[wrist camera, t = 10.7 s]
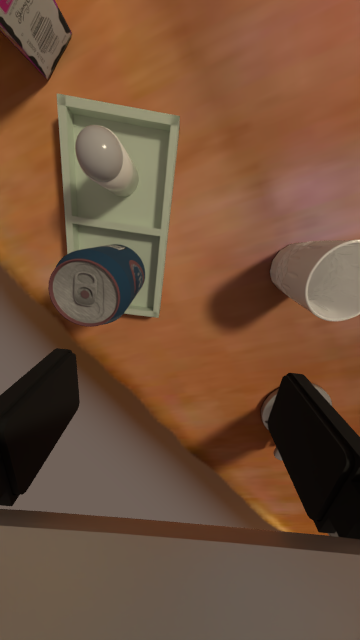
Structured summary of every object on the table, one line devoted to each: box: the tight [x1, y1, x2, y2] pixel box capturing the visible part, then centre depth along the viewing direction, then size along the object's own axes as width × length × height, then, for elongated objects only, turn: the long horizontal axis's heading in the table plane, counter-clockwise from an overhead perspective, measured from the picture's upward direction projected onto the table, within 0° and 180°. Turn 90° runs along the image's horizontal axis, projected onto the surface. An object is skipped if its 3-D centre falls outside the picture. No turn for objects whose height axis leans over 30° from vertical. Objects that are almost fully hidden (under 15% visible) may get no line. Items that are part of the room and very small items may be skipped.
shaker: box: [75, 125, 139, 197], centre depth 20 cm, size 4×4×9 cm
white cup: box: [270, 240, 360, 321], centre depth 25 cm, size 8×8×10 cm
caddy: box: [57, 94, 180, 318], centre depth 26 cm, size 22×12×2 cm, turn 172°
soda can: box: [49, 244, 145, 326], centre depth 23 cm, size 7×7×12 cm
